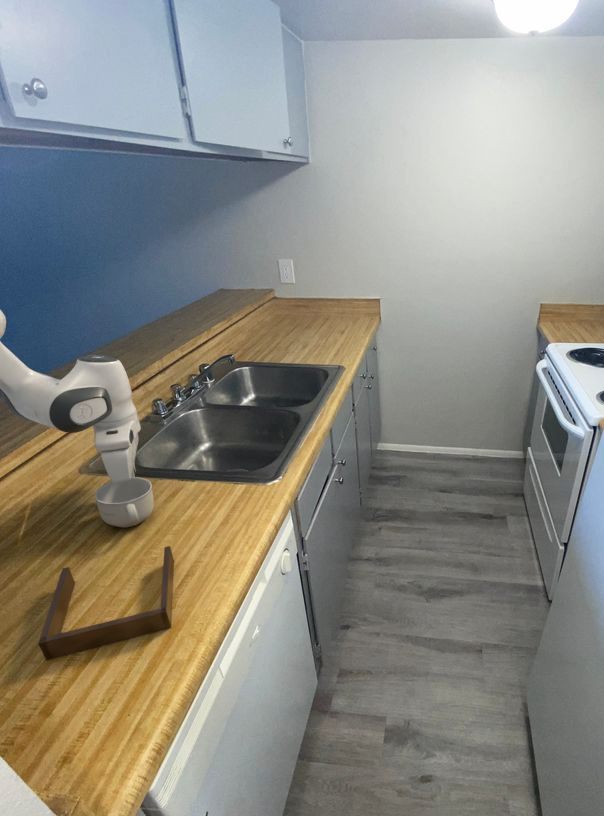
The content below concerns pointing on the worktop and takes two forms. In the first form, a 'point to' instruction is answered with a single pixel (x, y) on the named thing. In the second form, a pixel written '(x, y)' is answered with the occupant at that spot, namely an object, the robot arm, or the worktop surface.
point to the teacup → (125, 502)
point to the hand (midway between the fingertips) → (131, 477)
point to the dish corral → (106, 632)
